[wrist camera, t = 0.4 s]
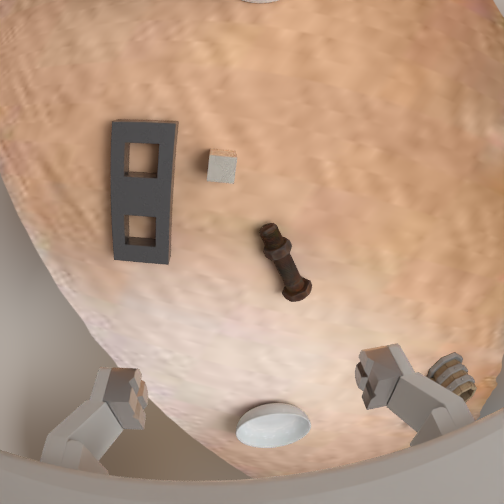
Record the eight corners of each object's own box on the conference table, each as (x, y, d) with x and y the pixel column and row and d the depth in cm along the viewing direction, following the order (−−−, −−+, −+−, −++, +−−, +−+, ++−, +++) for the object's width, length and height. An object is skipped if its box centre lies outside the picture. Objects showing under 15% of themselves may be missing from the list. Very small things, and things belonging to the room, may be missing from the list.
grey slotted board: (118, 119, 45) (112, 121, 43) (178, 121, 47) (175, 123, 44) (118, 251, 56) (114, 259, 54) (170, 256, 58) (168, 264, 55)
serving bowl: (237, 393, 79) (239, 414, 73) (314, 391, 82) (319, 411, 76) (231, 430, 89) (233, 449, 83) (297, 428, 92) (301, 446, 86)
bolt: (268, 217, 58) (298, 280, 65) (247, 233, 56) (280, 296, 63) (288, 220, 53) (317, 288, 60) (265, 238, 52) (298, 305, 58)
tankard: (463, 347, 82) (485, 381, 69) (454, 372, 88) (473, 403, 75) (411, 369, 83) (431, 407, 70) (405, 392, 89) (422, 427, 76)
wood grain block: (210, 148, 49) (209, 154, 45) (235, 151, 50) (237, 157, 46) (208, 172, 51) (206, 181, 47) (232, 174, 52) (233, 183, 47)
